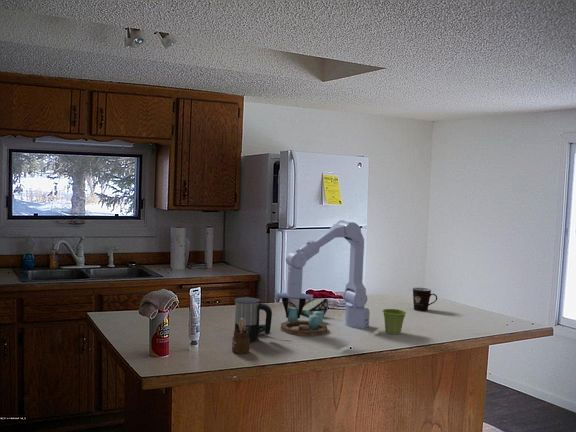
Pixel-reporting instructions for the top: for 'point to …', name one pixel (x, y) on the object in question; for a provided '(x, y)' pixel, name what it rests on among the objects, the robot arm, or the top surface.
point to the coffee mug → (422, 298)
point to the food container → (315, 306)
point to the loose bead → (319, 315)
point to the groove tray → (301, 332)
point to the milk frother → (252, 316)
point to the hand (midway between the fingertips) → (292, 317)
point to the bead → (292, 314)
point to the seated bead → (313, 322)
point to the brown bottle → (241, 340)
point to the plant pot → (393, 320)
